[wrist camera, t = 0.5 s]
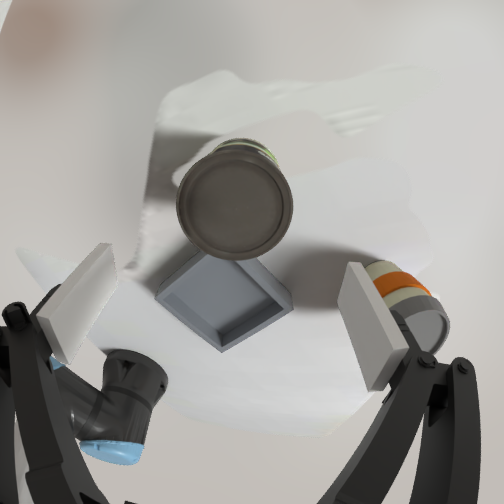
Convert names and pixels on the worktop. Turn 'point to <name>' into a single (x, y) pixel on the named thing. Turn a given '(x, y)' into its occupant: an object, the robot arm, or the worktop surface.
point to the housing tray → (224, 298)
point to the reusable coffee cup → (411, 304)
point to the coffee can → (235, 201)
